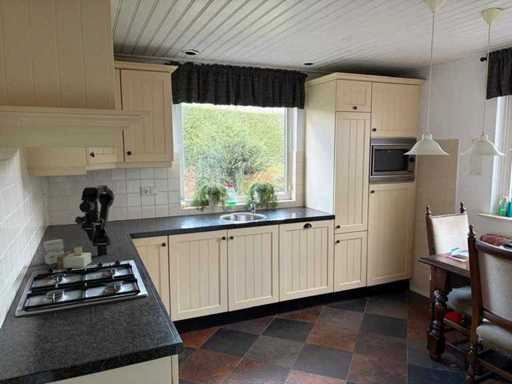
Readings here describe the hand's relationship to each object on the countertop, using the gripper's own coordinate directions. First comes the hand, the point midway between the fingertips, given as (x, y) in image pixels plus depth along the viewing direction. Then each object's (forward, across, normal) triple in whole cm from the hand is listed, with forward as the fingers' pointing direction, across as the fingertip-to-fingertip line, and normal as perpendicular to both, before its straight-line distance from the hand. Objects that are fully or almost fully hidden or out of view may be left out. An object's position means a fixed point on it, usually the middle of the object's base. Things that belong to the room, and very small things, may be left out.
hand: (94, 239), depth 206 cm
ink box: (+12, -2, -22) cm, 25 cm away
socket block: (+11, +12, -5) cm, 16 cm away
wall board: (+12, +12, +4) cm, 17 cm away
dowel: (+10, +11, -4) cm, 16 cm away
